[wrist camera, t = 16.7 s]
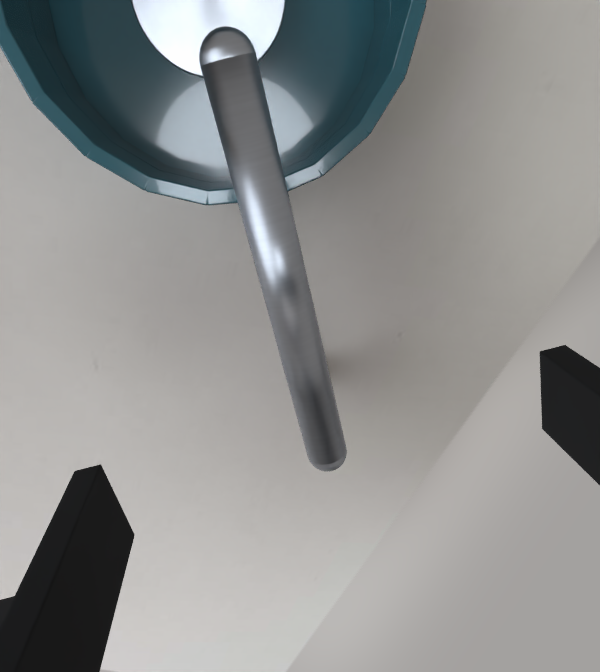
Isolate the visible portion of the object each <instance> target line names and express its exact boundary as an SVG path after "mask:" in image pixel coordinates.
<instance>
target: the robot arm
mask: <svg viewBox="0 0 600 672" xmlns="http://www.w3.org/2000/svg"><path fill="white" fill-rule="evenodd" d="M540 374H541V404H542V429H543V430H544V431H545V432H546V433H547V434H548V435H549V436H550V437H551V438H552V439H553V440H554V441H555V442H556V443H557V444H558V445H559V446H560V447H561V448H562V449H563V450H564V451H565V452H566V453H567V454H568V455H569V456H571V458H573V459H574V460H575V461H576V462H577V463H578V464H579V465H580V466H581V467H582V468H583V469H584V470H585V471H586V472H587V473H588V474H589V475H590V476H591V477H592V478H593V479H594V480H595V481H596V482H597V483H598V484H599V485H600V368H599V367H597V366H596V365H594V364H593V363H591V362H590V361H588V360H587V359H585V358H584V357H582V356H580V355H579V354H578V353H576V352H575V351H573V350H572V349H570V348H569V347H567V346H566V345H563V346H559V347H556V348H552V349H548V350H544V351H540ZM133 539H134V533H133V531H132V529H131V526H130V524H129V522H128V520H127V518H126V516H125V514H124V512H123V510H122V508H121V506H120V504H119V501H118V499H117V497H116V495H115V493H114V491H113V489H112V487H111V485H110V483H109V481H108V478H107V476H106V474H105V472H104V470H103V468H102V466H101V465H97V466H93V467H89V468H85V469H81V470H77V471H75V472H74V474H73V476H72V478H71V480H70V482H69V484H68V486H67V488H66V490H65V493H64V495H63V497H62V499H61V501H60V503H59V505H58V507H57V509H56V511H55V513H54V515H53V518H52V520H51V522H50V524H49V526H48V528H47V530H46V532H45V534H44V536H43V538H42V540H41V543H40V545H39V547H38V549H37V551H36V553H35V555H34V557H33V559H32V561H31V563H30V565H29V568H28V570H27V572H26V574H25V576H24V578H23V580H22V582H21V584H20V586H19V588H18V590H17V593H16V595H15V596H14V597H10V598H6V599H2V600H0V672H99V671H100V667H101V663H102V660H103V656H104V652H105V648H106V644H107V640H108V636H109V632H110V628H111V625H112V621H113V617H114V613H115V609H116V605H117V601H118V597H119V593H120V590H121V586H122V582H123V578H124V574H125V570H126V566H127V562H128V558H129V554H130V551H131V547H132V543H133Z"/></svg>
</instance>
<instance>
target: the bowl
mask: <svg viewBox="0 0 600 672" xmlns="http://www.w3.org/2000/svg"><path fill="white" fill-rule="evenodd" d="M426 2H427V0H286V5H285V12H284V17H283V21H282V25H281V28H280V31H279V33H278V35H277V37H276V40H275V41H274V43H273V45H272V46H271V48H270V49H269V51H268V52H267V53H266V55H265V56H264V57H263V58H262V59H261V60H260V61H259V62H258V64H259V69H260V73H261V77H262V82H263V86H264V90H265V95H266V99H267V104H268V108H269V112H270V117H271V121H272V125H273V130H274V134H275V138H276V143H277V147H278V152H279V156H280V160H281V165H282V169H283V173H284V178H285V182H286V187H287V191H290V190H292V189H295V188H297V187H299V186H301V185H304V184H306V183H308V182H311V181H313V180H315V179H318V178H320V177H321V176H323V175H325V174H326V173H327V172H328V171H329V170H330V169H331V168H333V167H334V166H335V165H336V164H337V163H338V162H339V161H340V160H342V159H343V158H344V157H345V156H346V155H347V154H348V153H350V152H351V151H352V150H353V149H354V148H355V147H356V146H357V145H359V144H360V143H361V142H362V141H363V140H364V139H365V138H367V137H368V136H369V134H370V133H371V132H372V130H373V128H374V127H375V125H376V124H377V122H378V120H379V119H380V117H381V116H382V114H383V112H384V111H385V109H386V107H387V106H388V104H389V103H390V101H391V99H392V98H393V96H394V95H395V93H396V91H397V90H398V88H399V86H400V85H401V83H402V82H403V80H404V78H405V76H406V73H407V70H408V66H409V63H410V59H411V56H412V53H413V49H414V46H415V42H416V39H417V35H418V32H419V29H420V25H421V22H422V18H423V15H424V11H425V8H426ZM0 47H1V49H2V51H3V52H4V54H5V56H6V58H7V59H8V61H9V63H10V65H11V66H12V68H13V70H14V72H15V73H16V75H17V77H18V79H19V80H20V82H21V84H22V86H23V87H24V89H25V91H26V93H27V94H28V96H29V98H30V100H31V101H33V104H34V105H35V106H36V107H37V108H38V109H39V110H40V111H41V112H42V113H43V114H44V115H45V116H46V117H47V118H48V119H49V120H50V121H51V122H52V123H53V124H54V125H55V126H56V127H57V128H58V129H59V130H60V131H61V132H62V133H63V135H64V136H65V137H66V138H67V139H68V140H69V141H70V142H71V143H72V144H73V145H74V146H75V147H76V148H77V149H78V150H79V151H80V152H81V153H82V154H83V155H84V156H86V157H87V158H89V159H90V160H92V161H94V162H96V163H97V164H99V165H101V166H103V167H104V168H106V169H108V170H109V171H111V172H113V173H115V174H116V175H118V176H120V177H122V178H123V179H125V180H127V181H129V182H130V183H132V184H134V185H136V186H137V187H139V188H141V189H142V190H146V191H147V192H151V193H155V194H159V195H164V196H168V197H172V198H177V199H181V200H185V201H190V202H194V203H198V204H203V205H219V204H230V203H238V201H237V198H236V194H235V190H234V187H233V183H232V179H231V176H230V172H229V169H228V165H227V161H226V158H225V154H224V150H223V147H222V143H221V140H220V136H219V132H218V129H217V125H216V121H215V118H214V114H213V111H212V107H211V103H210V100H209V96H208V92H207V89H206V85H205V82H204V78H200V77H197V76H193V75H191V74H188V73H186V72H184V71H182V70H181V69H179V68H177V67H175V66H174V65H172V64H171V63H170V62H168V61H167V60H166V59H165V58H164V57H163V56H162V55H160V54H159V53H158V52H157V51H156V49H155V48H154V47H153V46H152V44H151V43H150V42H149V40H148V39H147V37H146V36H145V34H144V33H143V31H142V29H141V27H140V25H139V23H138V21H137V18H136V16H135V13H134V10H133V7H132V3H131V0H0Z"/></svg>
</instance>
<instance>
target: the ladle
mask: <svg viewBox="0 0 600 672" xmlns="http://www.w3.org/2000/svg"><path fill="white" fill-rule="evenodd" d="M131 3H132V7H133V10H134V13H135V16H136V18H137V21H138V23H139V25H140V27H141V29H142V31H143V33H144V34H145V36H146V37H147V39H148V40H149V42H150V43H151V44H152V46H153V47H154V48H155V49H156V51H157V52H158V53H159V54H160V55H162V56H163V57H164V58H165V59H166V60H167V61H168V62H170V63H171V64H172V65H174V66H175V67H177V68H179V69H181V70H182V71H184V72H186V73H188V74H191V75H193V76H197V77H200V78H204V82H205V85H206V89H207V92H208V96H209V100H210V103H211V107H212V111H213V114H214V118H215V121H216V125H217V129H218V132H219V136H220V140H221V143H222V147H223V150H224V154H225V158H226V161H227V165H228V169H229V172H230V176H231V179H232V183H233V187H234V190H235V194H236V198H237V201H238V205H239V208H240V212H241V216H242V219H243V223H244V227H245V230H246V234H247V237H248V241H249V245H250V248H251V252H252V256H253V259H254V263H255V266H256V270H257V274H258V277H259V281H260V285H261V288H262V292H263V296H264V299H265V303H266V306H267V310H268V314H269V317H270V321H271V325H272V328H273V332H274V335H275V339H276V343H277V346H278V350H279V354H280V357H281V361H282V364H283V368H284V372H285V375H286V379H287V383H288V386H289V390H290V393H291V397H292V401H293V404H294V408H295V412H296V415H297V419H298V422H299V426H300V430H301V433H302V437H303V441H304V444H305V448H306V451H307V455H308V458H309V460H310V462H311V463H312V465H313V466H314V467H316V468H317V469H319V470H321V471H333V470H336V469H337V468H339V467H340V466H341V465H342V464H343V462H344V460H345V458H346V453H347V450H346V444H345V440H344V435H343V431H342V427H341V422H340V418H339V414H338V409H337V405H336V400H335V396H334V392H333V387H332V383H331V379H330V374H329V370H328V365H327V361H326V357H325V352H324V348H323V344H322V339H321V335H320V331H319V326H318V322H317V317H316V313H315V309H314V304H313V300H312V296H311V291H310V287H309V283H308V278H307V274H306V269H305V265H304V261H303V256H302V252H301V248H300V243H299V239H298V235H297V230H296V226H295V221H294V217H293V213H292V208H291V204H290V200H289V195H288V191H287V187H286V182H285V178H284V173H283V169H282V165H281V160H280V156H279V152H278V147H277V143H276V138H275V134H274V130H273V125H272V121H271V117H270V112H269V108H268V104H267V99H266V95H265V90H264V86H263V82H262V77H261V73H260V69H259V64H258V62H259V61H260V60H261V59H262V58H263V57H264V56H265V55H266V53H267V52H268V51H269V49H270V48H271V46H272V45H273V43H274V41H275V40H276V37H277V35H278V33H279V31H280V28H281V25H282V21H283V17H284V12H285V5H286V0H131Z"/></svg>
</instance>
